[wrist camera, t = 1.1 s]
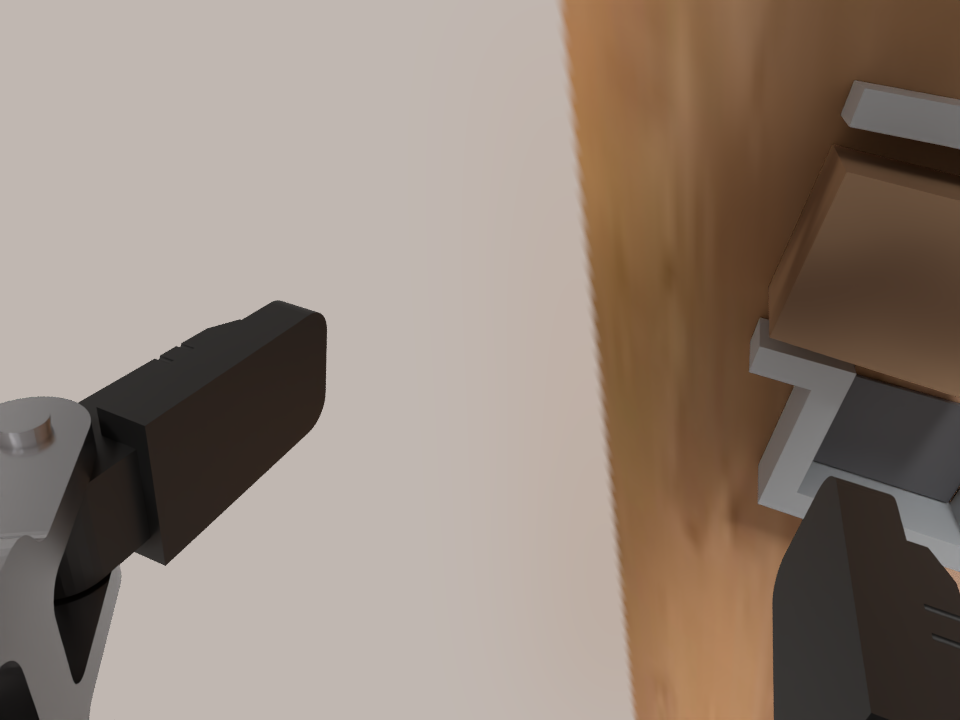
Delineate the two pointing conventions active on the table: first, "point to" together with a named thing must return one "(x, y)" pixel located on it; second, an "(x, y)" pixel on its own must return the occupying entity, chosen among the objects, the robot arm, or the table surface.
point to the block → (875, 270)
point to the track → (867, 388)
